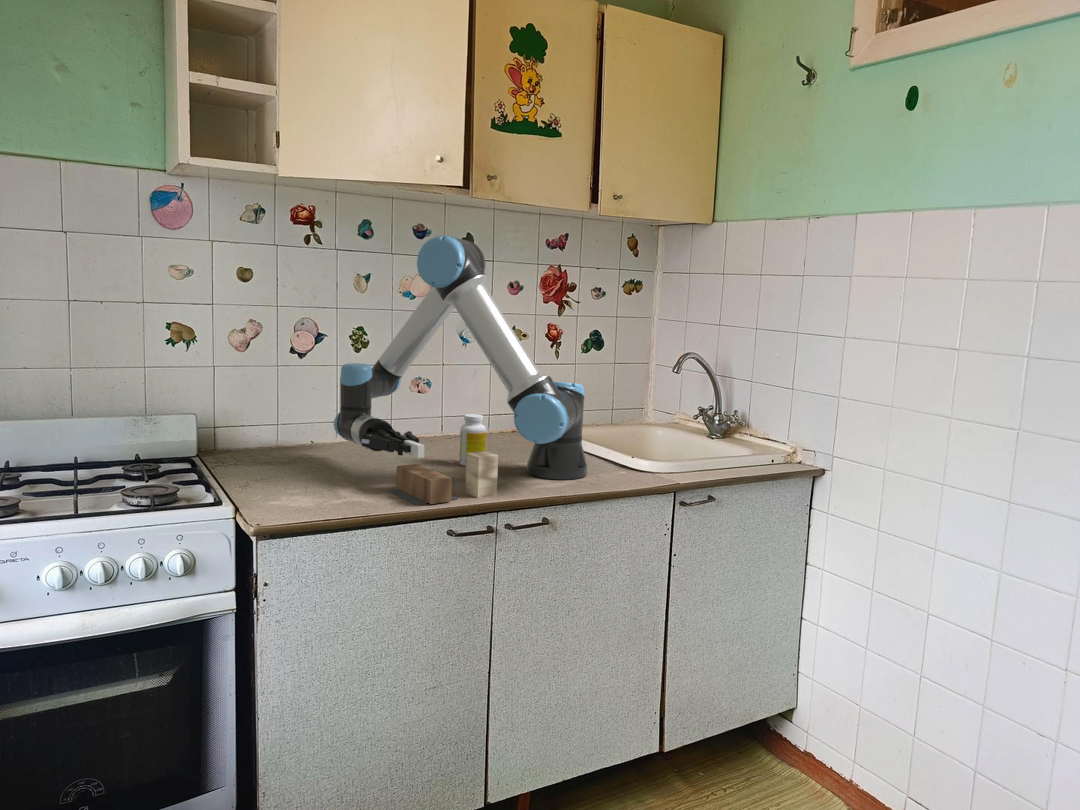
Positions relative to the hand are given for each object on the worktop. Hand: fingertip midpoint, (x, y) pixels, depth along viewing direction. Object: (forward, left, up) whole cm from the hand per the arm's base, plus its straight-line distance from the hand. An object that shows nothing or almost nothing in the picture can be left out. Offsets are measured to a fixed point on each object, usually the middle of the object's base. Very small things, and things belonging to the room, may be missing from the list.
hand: (421, 451), depth 170 cm
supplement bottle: (-15, -29, -10) cm, 34 cm away
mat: (0, +1, -9) cm, 10 cm away
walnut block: (+3, -6, -7) cm, 9 cm away
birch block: (-13, 0, -10) cm, 16 cm away
